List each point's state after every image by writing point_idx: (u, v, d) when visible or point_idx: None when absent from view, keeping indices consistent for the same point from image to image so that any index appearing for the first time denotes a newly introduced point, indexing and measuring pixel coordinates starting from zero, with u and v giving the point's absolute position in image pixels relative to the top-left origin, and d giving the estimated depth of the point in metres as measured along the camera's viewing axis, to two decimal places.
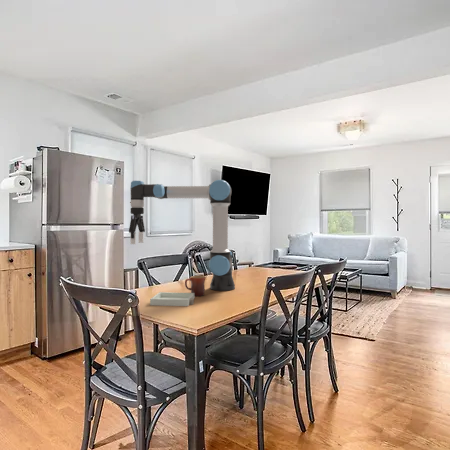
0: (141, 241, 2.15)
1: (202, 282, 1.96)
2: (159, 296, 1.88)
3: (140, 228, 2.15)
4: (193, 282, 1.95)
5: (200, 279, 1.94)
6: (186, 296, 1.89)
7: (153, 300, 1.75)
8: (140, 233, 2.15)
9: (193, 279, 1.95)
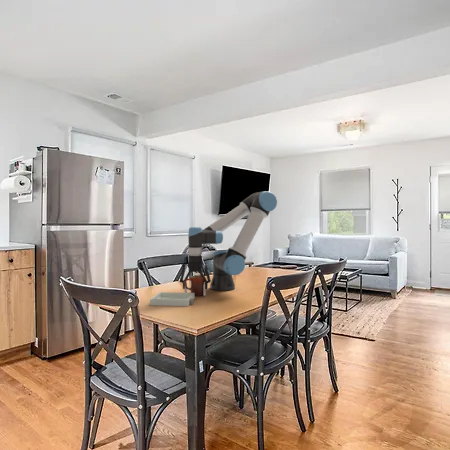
0: None
1: (202, 282, 1.96)
2: (159, 296, 1.88)
3: None
4: (193, 282, 1.95)
5: (200, 279, 1.94)
6: (186, 296, 1.89)
7: (153, 300, 1.75)
8: None
9: (193, 279, 1.95)
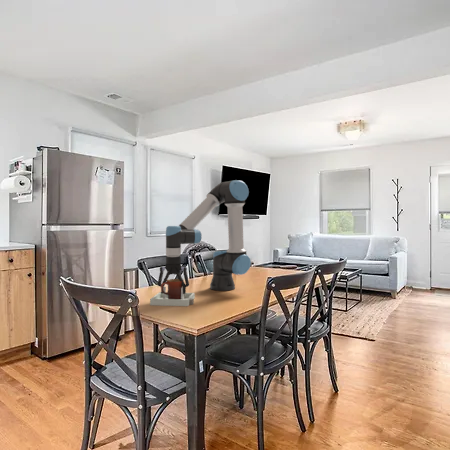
0: None
1: (180, 286, 1.81)
2: (159, 296, 1.88)
3: None
4: (170, 286, 1.80)
5: (178, 283, 1.79)
6: (186, 296, 1.89)
7: (153, 300, 1.75)
8: None
9: (170, 283, 1.79)
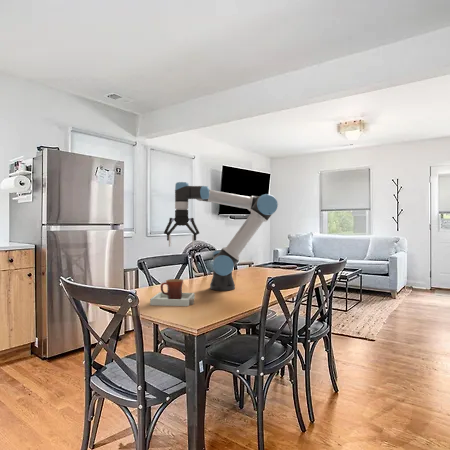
0: None
1: (179, 286, 1.81)
2: (159, 296, 1.88)
3: (191, 231, 2.03)
4: (170, 286, 1.80)
5: (177, 283, 1.79)
6: (186, 296, 1.89)
7: (153, 300, 1.75)
8: None
9: (170, 283, 1.79)
